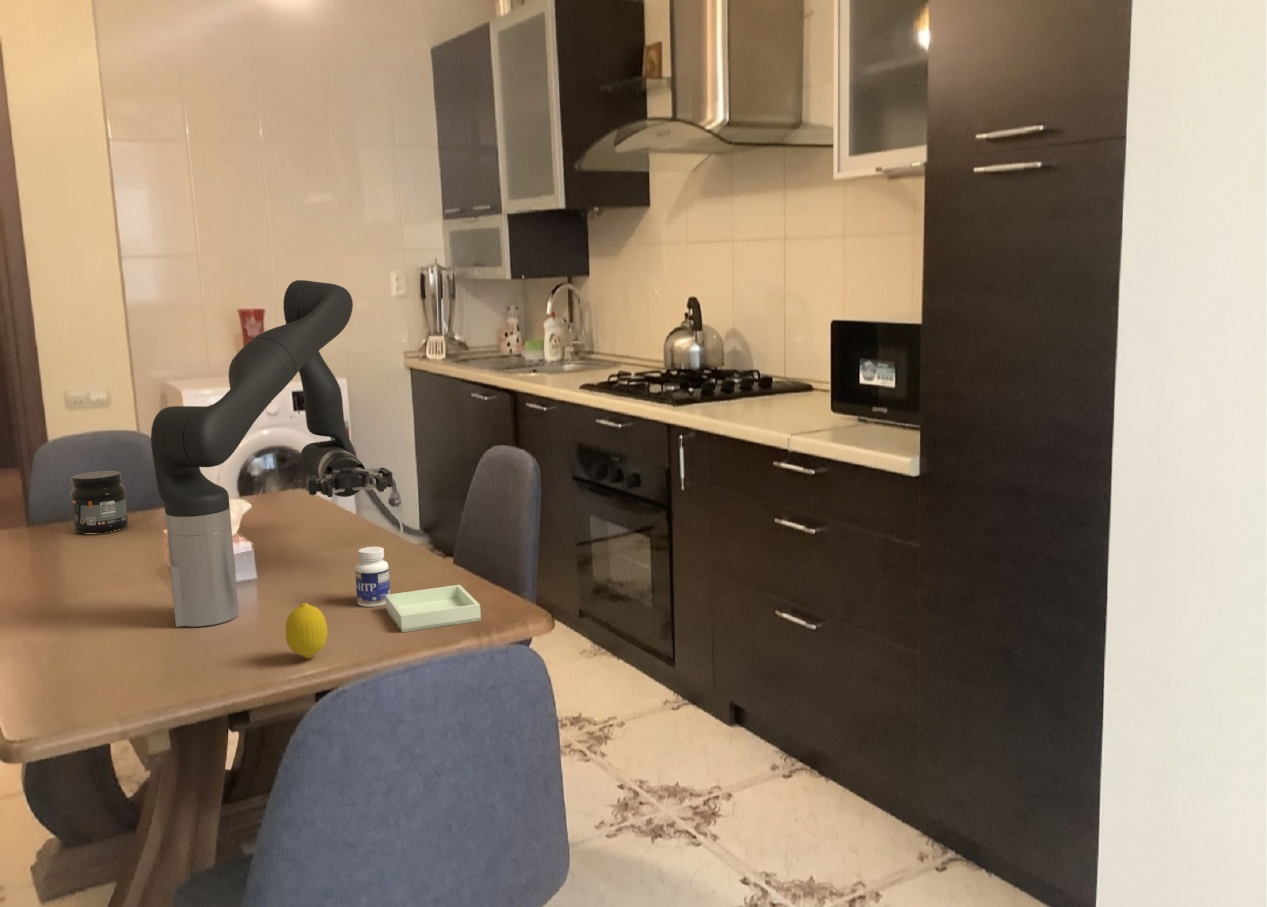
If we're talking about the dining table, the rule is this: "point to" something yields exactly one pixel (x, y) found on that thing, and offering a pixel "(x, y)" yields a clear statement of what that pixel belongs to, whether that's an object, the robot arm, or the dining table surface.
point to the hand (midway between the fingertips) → (356, 488)
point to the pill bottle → (372, 577)
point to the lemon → (306, 630)
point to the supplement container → (98, 502)
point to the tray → (432, 608)
